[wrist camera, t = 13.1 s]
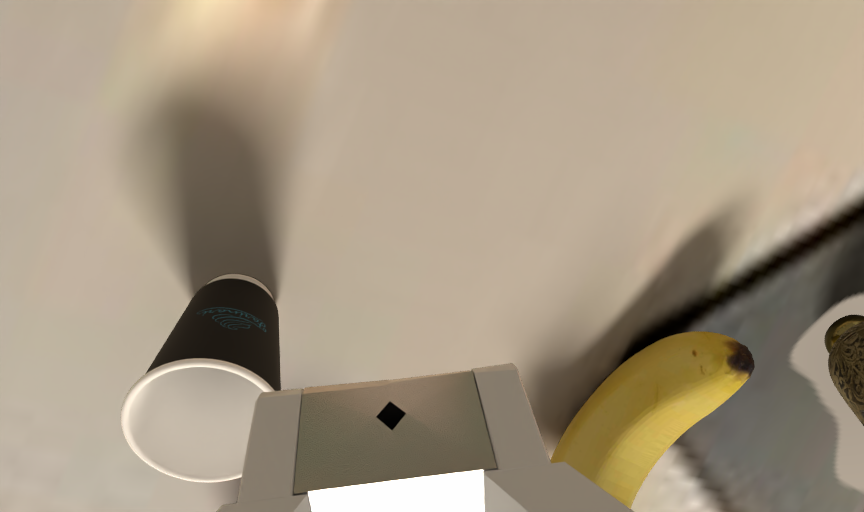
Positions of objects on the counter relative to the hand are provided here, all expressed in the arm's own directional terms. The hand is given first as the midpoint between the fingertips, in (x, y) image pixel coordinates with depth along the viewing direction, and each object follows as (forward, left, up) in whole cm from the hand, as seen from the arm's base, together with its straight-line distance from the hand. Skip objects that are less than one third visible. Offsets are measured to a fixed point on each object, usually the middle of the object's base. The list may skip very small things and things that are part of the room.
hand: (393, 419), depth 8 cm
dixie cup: (+17, +10, -31) cm, 37 cm away
